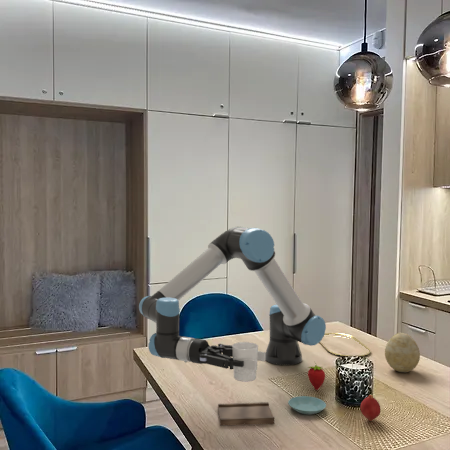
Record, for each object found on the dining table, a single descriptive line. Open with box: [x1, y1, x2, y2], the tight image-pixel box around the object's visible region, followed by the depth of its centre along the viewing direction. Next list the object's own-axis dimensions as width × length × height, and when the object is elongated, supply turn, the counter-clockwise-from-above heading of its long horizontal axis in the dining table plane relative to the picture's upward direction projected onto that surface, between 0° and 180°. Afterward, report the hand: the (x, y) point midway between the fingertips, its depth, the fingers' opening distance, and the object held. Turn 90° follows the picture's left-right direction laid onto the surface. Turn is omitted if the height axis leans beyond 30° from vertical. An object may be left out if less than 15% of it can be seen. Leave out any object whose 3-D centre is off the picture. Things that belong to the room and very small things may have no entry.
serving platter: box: [319, 332, 372, 357], centre depth 219 cm, size 19×35×2 cm, turn 5°
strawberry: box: [307, 362, 326, 391], centre depth 167 cm, size 6×8×10 cm
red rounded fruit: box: [359, 394, 381, 422], centre depth 144 cm, size 6×6×8 cm
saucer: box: [287, 395, 327, 415], centre depth 152 cm, size 12×12×2 cm
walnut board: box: [217, 401, 276, 426], centre depth 147 cm, size 16×11×2 cm
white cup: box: [231, 341, 259, 383], centre depth 146 cm, size 8×8×10 cm
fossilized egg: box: [384, 332, 421, 373], centre depth 186 cm, size 13×13×15 cm
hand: (259, 360), depth 144 cm, fingers closed on white cup, 7 cm apart
